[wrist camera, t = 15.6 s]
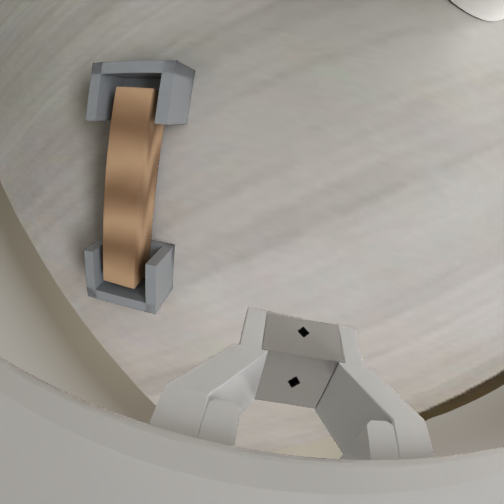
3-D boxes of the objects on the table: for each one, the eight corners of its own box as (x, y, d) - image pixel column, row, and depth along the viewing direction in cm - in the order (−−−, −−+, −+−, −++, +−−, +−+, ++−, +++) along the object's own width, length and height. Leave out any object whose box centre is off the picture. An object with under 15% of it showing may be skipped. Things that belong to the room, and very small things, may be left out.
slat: (136, 89, 29) (116, 86, 25) (169, 92, 29) (153, 88, 25) (120, 263, 38) (103, 280, 33) (149, 271, 37) (134, 288, 33)
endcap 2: (172, 288, 39) (155, 314, 34) (110, 273, 39) (88, 295, 34) (174, 244, 37) (156, 266, 31) (109, 231, 37) (83, 250, 32)
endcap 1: (121, 69, 29) (93, 63, 24) (195, 70, 29) (176, 60, 23) (114, 119, 32) (85, 120, 26) (186, 124, 31) (166, 124, 26)
